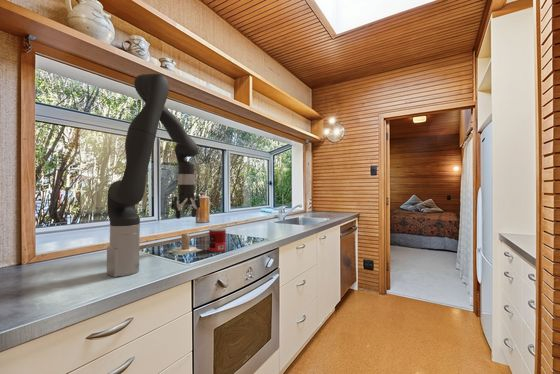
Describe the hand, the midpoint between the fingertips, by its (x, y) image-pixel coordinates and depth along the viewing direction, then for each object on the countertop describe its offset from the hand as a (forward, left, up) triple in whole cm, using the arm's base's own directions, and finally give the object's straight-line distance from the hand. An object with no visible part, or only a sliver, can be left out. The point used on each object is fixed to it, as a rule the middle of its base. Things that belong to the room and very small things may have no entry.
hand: (186, 217), depth 122 cm
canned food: (+10, -11, -17) cm, 22 cm away
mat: (0, 0, -16) cm, 16 cm away
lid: (0, 0, -16) cm, 16 cm away
